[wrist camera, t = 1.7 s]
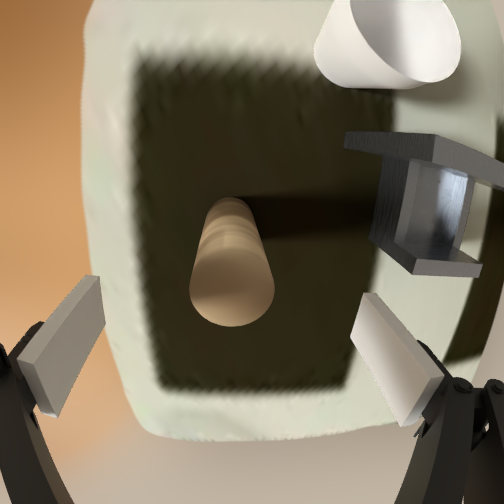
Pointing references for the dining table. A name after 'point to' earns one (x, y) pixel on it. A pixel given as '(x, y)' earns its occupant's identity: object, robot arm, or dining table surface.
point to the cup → (387, 43)
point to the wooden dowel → (231, 267)
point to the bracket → (425, 198)
